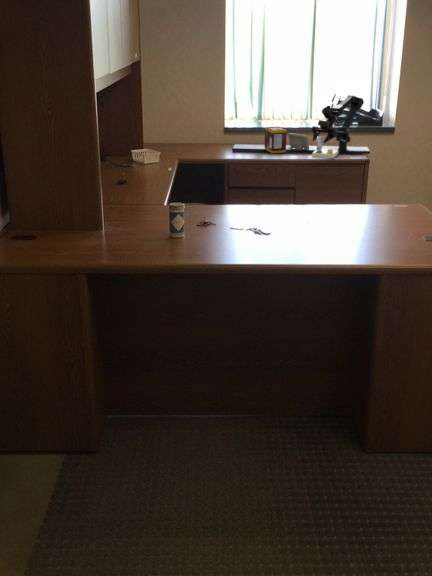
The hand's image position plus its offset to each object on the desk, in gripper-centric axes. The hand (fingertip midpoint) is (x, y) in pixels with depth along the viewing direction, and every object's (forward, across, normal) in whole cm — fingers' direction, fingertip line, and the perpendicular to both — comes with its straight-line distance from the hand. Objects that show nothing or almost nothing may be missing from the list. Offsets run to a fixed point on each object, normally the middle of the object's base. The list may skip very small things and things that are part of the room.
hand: (318, 141), depth 425 cm
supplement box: (+12, -32, +2) cm, 35 cm away
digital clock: (-1, -25, +15) cm, 29 cm away
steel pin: (+6, 0, +8) cm, 10 cm away
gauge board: (+2, +2, +12) cm, 12 cm away
